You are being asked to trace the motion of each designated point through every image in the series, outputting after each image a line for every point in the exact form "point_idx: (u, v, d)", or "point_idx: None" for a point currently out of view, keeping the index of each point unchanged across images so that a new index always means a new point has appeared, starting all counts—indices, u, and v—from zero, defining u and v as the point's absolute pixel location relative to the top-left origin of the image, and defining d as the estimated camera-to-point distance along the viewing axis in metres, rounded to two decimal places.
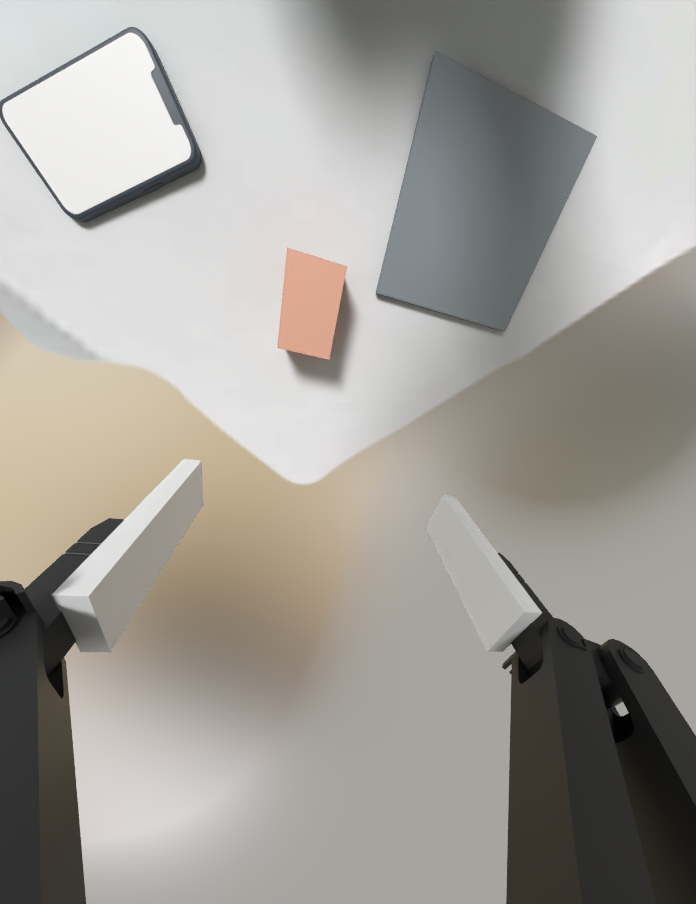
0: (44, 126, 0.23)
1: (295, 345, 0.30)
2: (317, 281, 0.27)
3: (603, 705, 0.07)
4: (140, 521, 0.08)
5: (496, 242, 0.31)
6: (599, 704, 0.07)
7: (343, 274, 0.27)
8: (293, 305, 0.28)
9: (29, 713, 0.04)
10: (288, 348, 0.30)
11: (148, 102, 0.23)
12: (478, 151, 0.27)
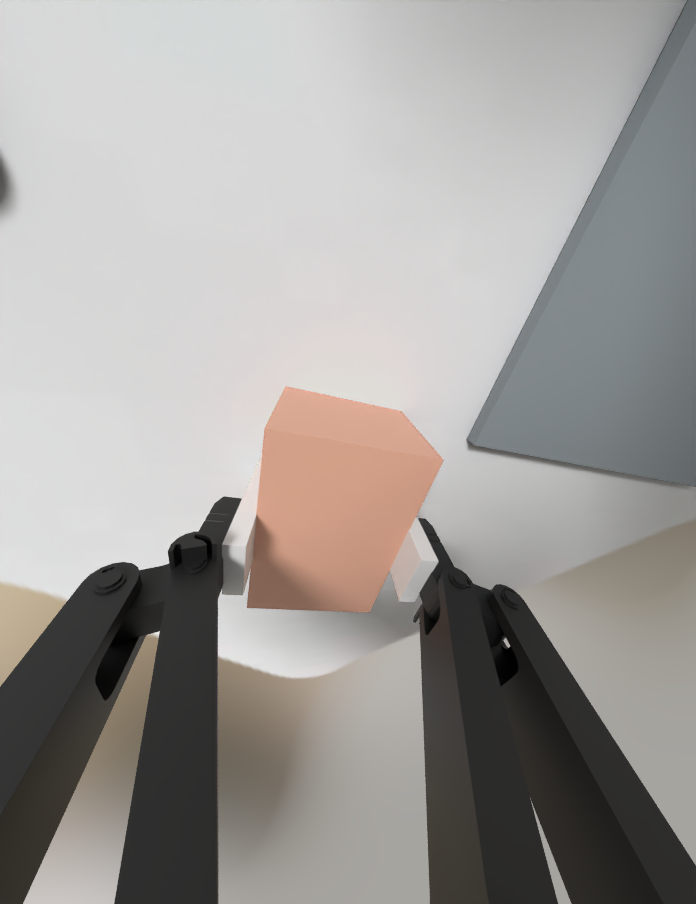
0: None
1: (290, 601, 0.12)
2: (355, 495, 0.10)
3: (485, 634, 0.08)
4: (254, 497, 0.10)
5: None
6: (482, 632, 0.08)
7: (430, 476, 0.10)
8: (287, 540, 0.10)
9: (212, 635, 0.06)
10: (274, 606, 0.13)
11: None
12: None
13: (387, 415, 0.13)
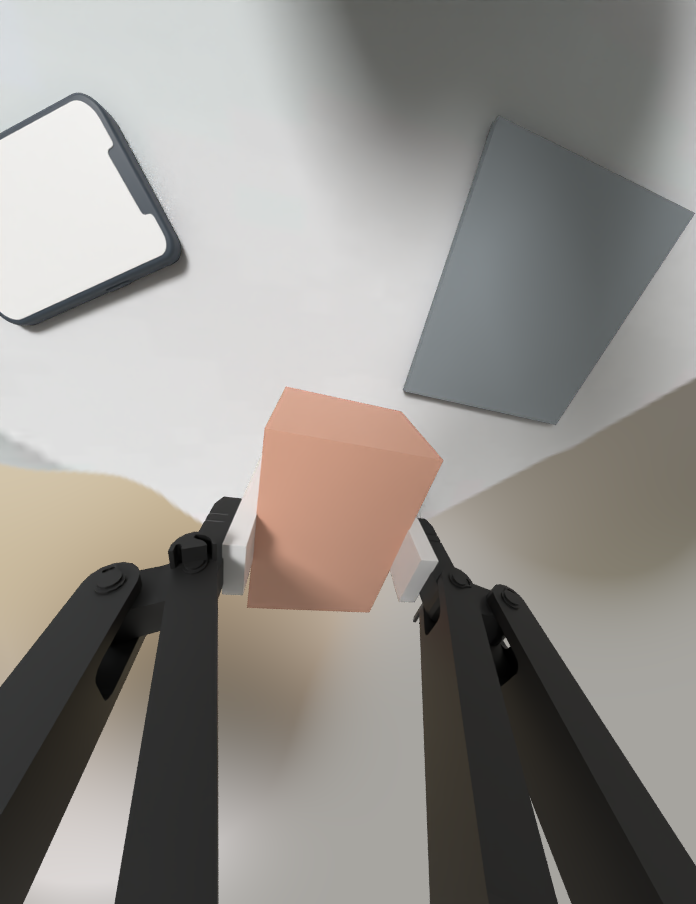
0: None
1: (290, 601, 0.12)
2: (355, 495, 0.10)
3: (485, 633, 0.08)
4: (254, 497, 0.10)
5: (555, 334, 0.25)
6: (482, 632, 0.08)
7: (429, 476, 0.10)
8: (287, 540, 0.10)
9: (213, 635, 0.06)
10: (274, 606, 0.13)
11: (105, 187, 0.17)
12: (543, 234, 0.21)
13: (387, 415, 0.13)
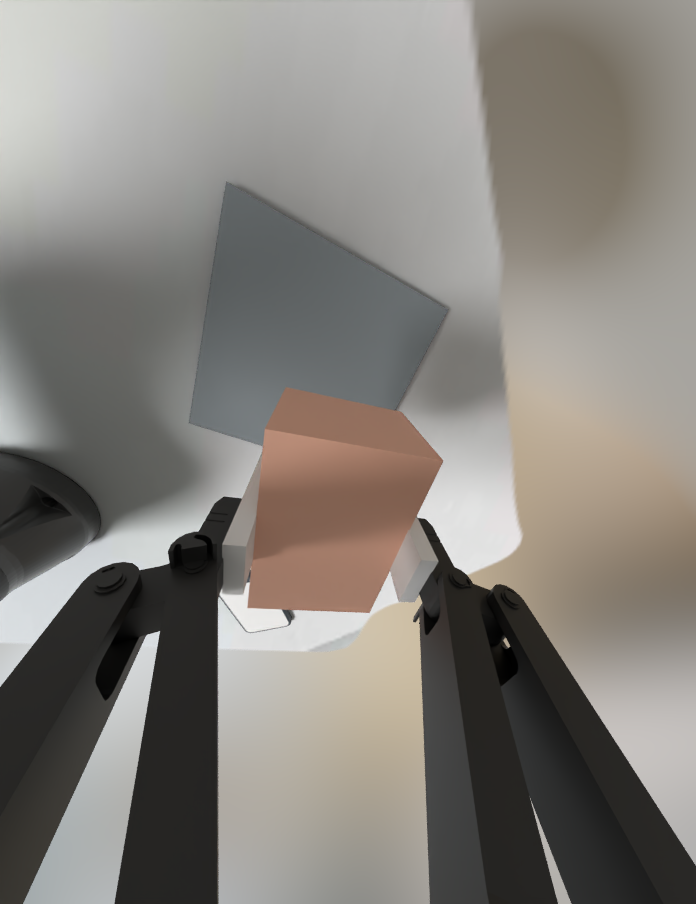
0: (253, 622, 0.44)
1: (290, 601, 0.12)
2: (355, 495, 0.10)
3: (485, 633, 0.08)
4: (254, 497, 0.10)
5: (336, 340, 0.23)
6: (482, 632, 0.08)
7: (429, 477, 0.10)
8: (287, 541, 0.10)
9: (212, 635, 0.06)
10: (274, 606, 0.13)
11: None
12: (251, 375, 0.24)
13: (387, 415, 0.13)
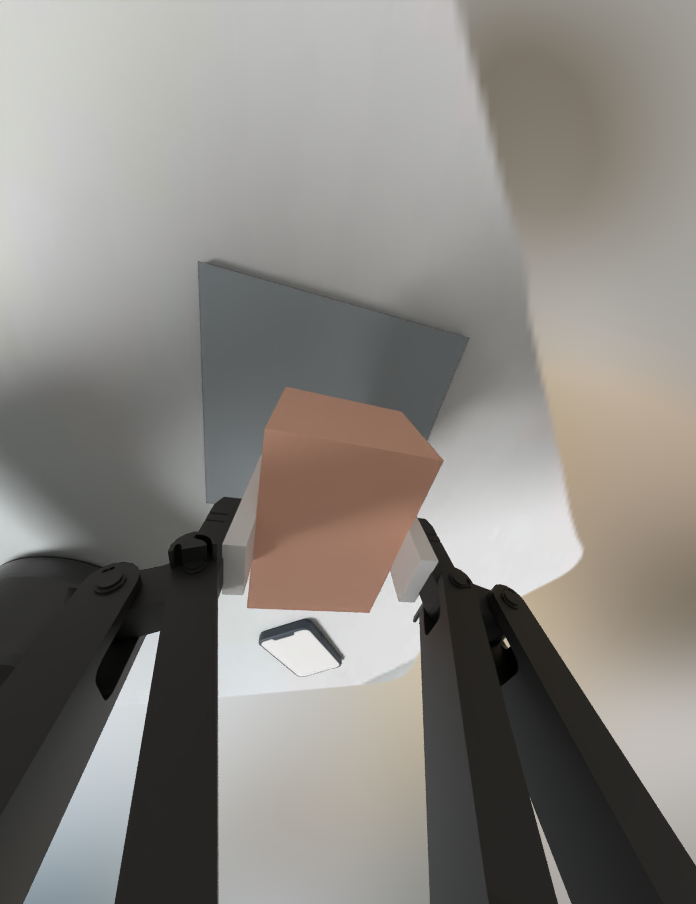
0: (304, 668, 0.43)
1: (290, 601, 0.12)
2: (355, 495, 0.10)
3: (485, 633, 0.08)
4: (254, 497, 0.10)
5: (345, 396, 0.21)
6: (482, 632, 0.08)
7: (430, 477, 0.10)
8: (287, 541, 0.10)
9: (212, 635, 0.06)
10: (274, 606, 0.13)
11: (287, 642, 0.38)
12: (260, 447, 0.22)
13: (387, 415, 0.13)
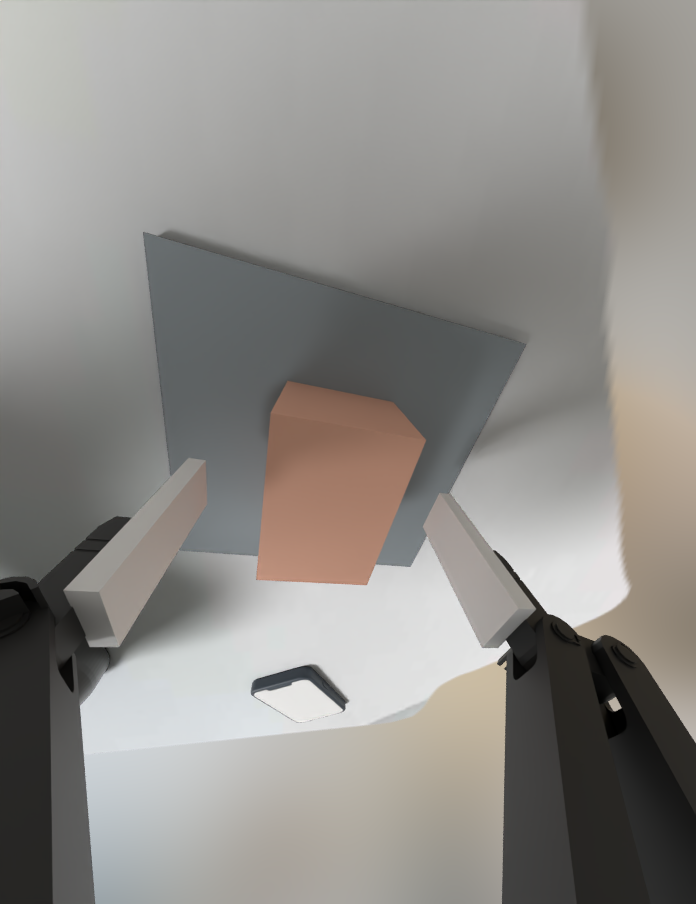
0: (303, 714, 0.38)
1: (295, 573, 0.14)
2: (350, 472, 0.11)
3: (596, 700, 0.07)
4: (147, 519, 0.08)
5: None
6: (593, 698, 0.07)
7: (415, 455, 0.11)
8: (291, 515, 0.12)
9: (42, 706, 0.04)
10: (280, 578, 0.14)
11: (283, 691, 0.33)
12: (246, 484, 0.17)
13: (379, 404, 0.14)
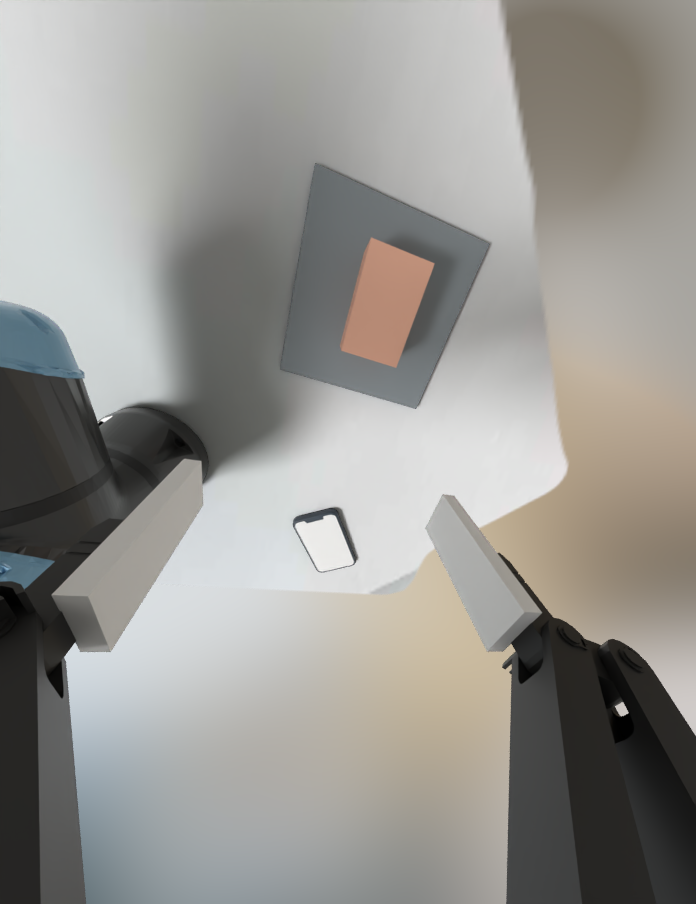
0: (324, 561, 0.51)
1: (361, 349, 0.27)
2: (398, 279, 0.24)
3: (603, 705, 0.07)
4: (140, 521, 0.08)
5: None
6: (600, 704, 0.07)
7: (429, 272, 0.24)
8: (367, 303, 0.25)
9: (29, 713, 0.04)
10: (353, 352, 0.27)
11: (315, 526, 0.46)
12: (328, 321, 0.30)
13: None
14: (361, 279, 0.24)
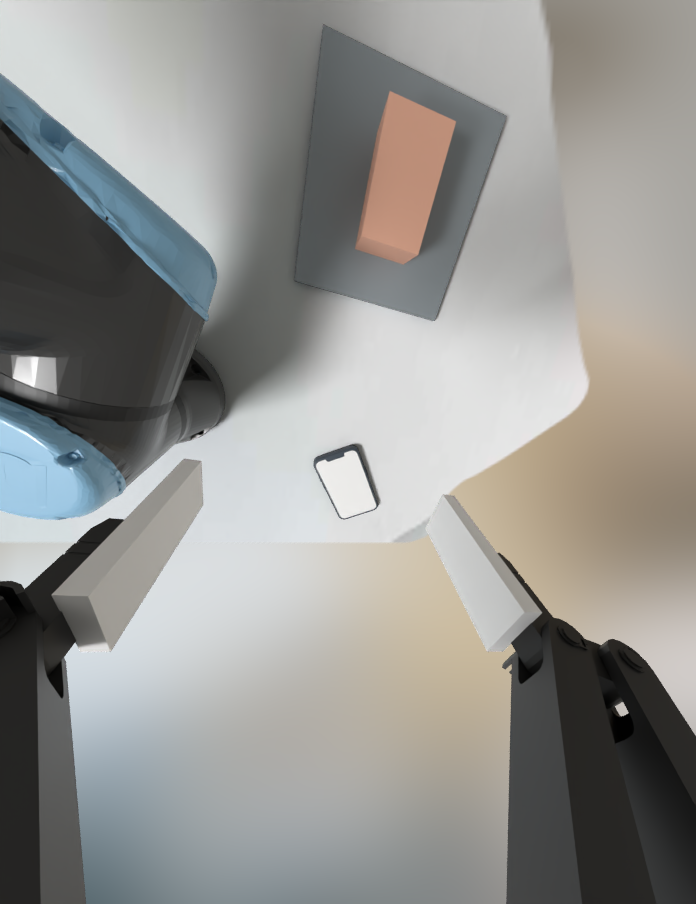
0: (346, 506, 0.50)
1: (382, 233, 0.26)
2: (419, 142, 0.23)
3: (603, 705, 0.07)
4: (140, 521, 0.08)
5: None
6: (600, 704, 0.07)
7: (450, 133, 0.23)
8: (387, 175, 0.24)
9: (29, 713, 0.04)
10: (373, 237, 0.26)
11: (337, 465, 0.45)
12: (343, 220, 0.29)
13: None
14: (380, 145, 0.23)
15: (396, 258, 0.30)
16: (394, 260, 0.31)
